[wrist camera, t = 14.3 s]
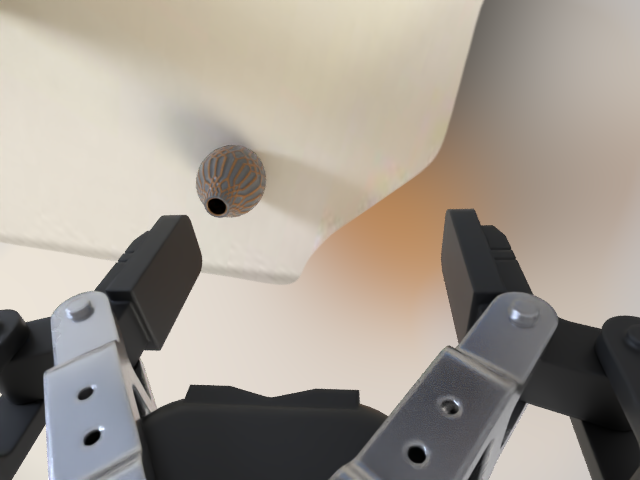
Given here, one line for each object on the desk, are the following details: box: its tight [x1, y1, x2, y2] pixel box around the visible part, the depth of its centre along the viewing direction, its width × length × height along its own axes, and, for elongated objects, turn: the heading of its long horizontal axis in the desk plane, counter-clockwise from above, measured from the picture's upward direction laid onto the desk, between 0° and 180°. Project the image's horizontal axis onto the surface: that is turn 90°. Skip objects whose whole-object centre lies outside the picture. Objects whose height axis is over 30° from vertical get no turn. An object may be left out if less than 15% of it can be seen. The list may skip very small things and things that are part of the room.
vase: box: [196, 145, 266, 218], centre depth 42 cm, size 7×7×9 cm
